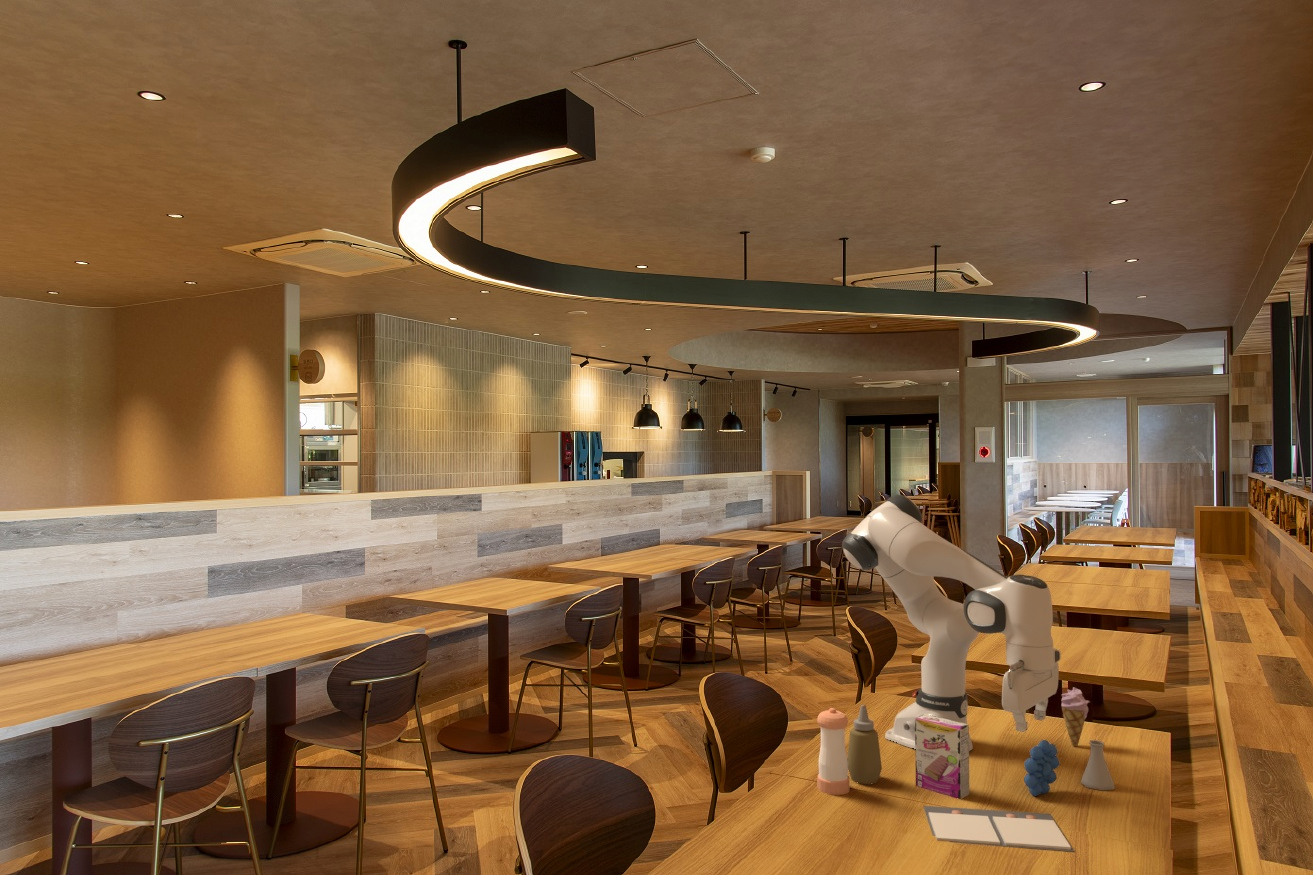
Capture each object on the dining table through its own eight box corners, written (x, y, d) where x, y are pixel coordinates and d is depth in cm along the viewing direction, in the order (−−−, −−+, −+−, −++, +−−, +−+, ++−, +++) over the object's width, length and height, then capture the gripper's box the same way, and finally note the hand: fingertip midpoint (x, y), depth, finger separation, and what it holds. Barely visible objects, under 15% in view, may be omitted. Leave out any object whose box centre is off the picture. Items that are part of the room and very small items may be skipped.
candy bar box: (914, 788, 196) (913, 717, 196) (925, 782, 200) (923, 712, 200) (960, 802, 188) (959, 728, 188) (970, 795, 192) (969, 723, 192)
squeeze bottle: (883, 777, 203) (882, 702, 203) (880, 790, 195) (879, 712, 195) (849, 773, 205) (847, 699, 206) (845, 786, 198) (843, 709, 198)
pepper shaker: (852, 788, 196) (851, 705, 197) (845, 800, 190) (844, 714, 190) (821, 783, 199) (820, 702, 200) (814, 795, 193) (812, 710, 193)
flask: (1119, 792, 193) (1118, 748, 193) (1085, 790, 194) (1084, 746, 194) (1109, 780, 200) (1108, 737, 200) (1076, 778, 201) (1075, 736, 201)
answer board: (934, 845, 168) (934, 838, 168) (923, 809, 185) (923, 803, 185) (1074, 855, 163) (1074, 848, 163) (1050, 817, 180) (1050, 811, 180)
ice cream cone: (1091, 744, 224) (1090, 687, 224) (1089, 751, 219) (1088, 693, 219) (1063, 739, 227) (1062, 684, 228) (1060, 746, 222) (1059, 689, 222)
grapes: (1040, 782, 199) (1039, 731, 199) (1067, 791, 193) (1066, 739, 194) (1009, 793, 193) (1008, 740, 193) (1036, 803, 187) (1036, 749, 187)
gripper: (1025, 669, 162) (1026, 741, 162) (1063, 650, 176) (1065, 716, 176) (992, 663, 166) (993, 734, 166) (1032, 645, 181) (1034, 710, 180)
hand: (1030, 724), depth 171 cm, fingers open, 8 cm apart
